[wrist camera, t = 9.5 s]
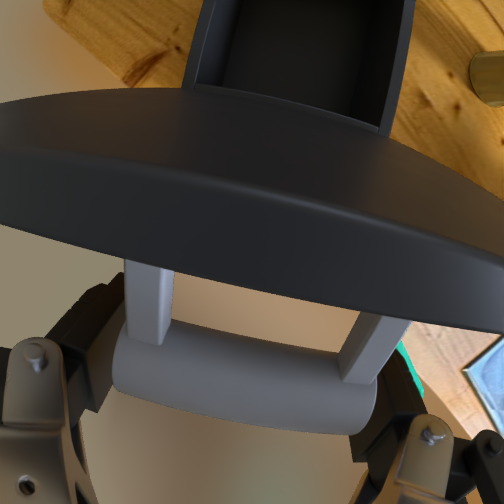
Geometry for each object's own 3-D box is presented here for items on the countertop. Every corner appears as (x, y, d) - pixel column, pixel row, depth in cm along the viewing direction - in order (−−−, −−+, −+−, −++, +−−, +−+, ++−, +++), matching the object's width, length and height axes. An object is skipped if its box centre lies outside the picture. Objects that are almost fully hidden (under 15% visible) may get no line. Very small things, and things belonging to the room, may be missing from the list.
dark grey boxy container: (248, -41, 19) (238, -96, 10) (380, -8, 20) (420, -50, 11) (210, 103, 25) (179, 94, 16) (350, 136, 26) (387, 143, 17)
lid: (-122, 144, 2) (-40, 387, 4) (633, 318, 2) (476, 485, 5) (178, 87, 16) (165, 175, 19) (391, 138, 16) (364, 221, 19)
